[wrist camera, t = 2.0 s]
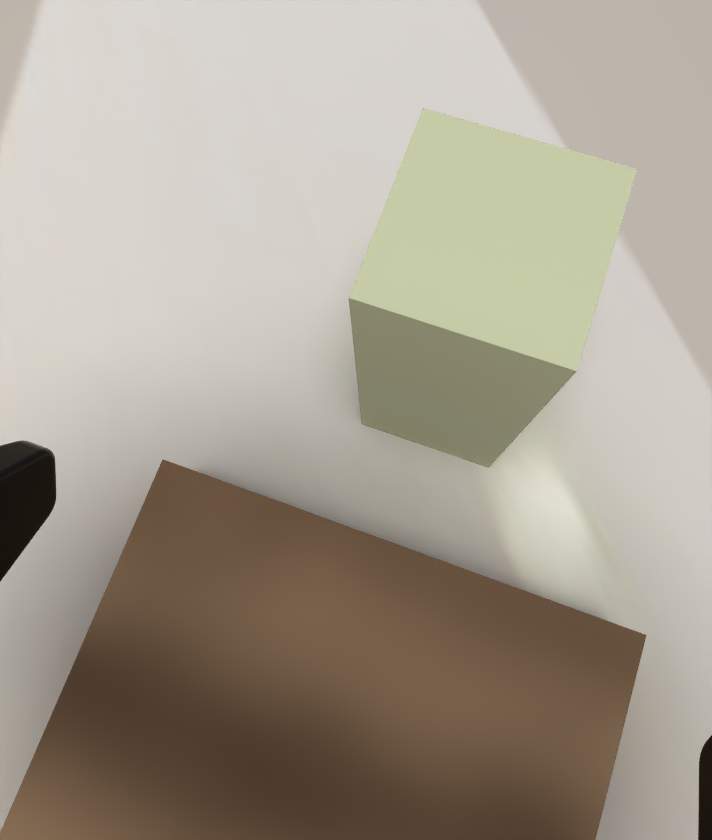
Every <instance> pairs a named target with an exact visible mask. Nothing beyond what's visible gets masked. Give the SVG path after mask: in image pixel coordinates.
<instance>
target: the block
mask: <svg viewBox="0 0 712 840" xmlns="http://www.w3.org/2000/svg"><path fill="white" fill-rule="evenodd" d="M636 171H637V169H635V168H632V167H628V166H625V165H621V164H617V163H614V162H611V161H607V160H604V159H600V158H597V157H593V156H589V155H586V154H582V153H579V152H575V151H572V150H568V149H565V148H561V147H558V146H554V145H551V144H547V143H544V142H540V141H537V140H533V139H530V138H526V137H522V136H519V135H515V134H512V133H508V132H505V131H501V130H498V129H494V128H491V127H487V126H484V125H480V124H477V123H473V122H470V121H466V120H463V119H459V118H456V117H452V116H448V115H445V114H441V113H438V112H434V111H431V110H427V109H424V108H423V110H422V112H421V115H420V117H419V120H418V123H417V125H416V128H415V130H414V133H413V135H412V138H411V140H410V143H409V146H408V148H407V151H406V153H405V156H404V158H403V161H402V163H401V166H400V168H399V171H398V174H397V176H396V179H395V181H394V184H393V186H392V189H391V191H390V194H389V197H388V199H387V202H386V204H385V207H384V209H383V212H382V214H381V217H380V219H379V222H378V225H377V227H376V230H375V232H374V235H373V237H372V240H371V242H370V245H369V248H368V250H367V253H366V255H365V258H364V260H363V263H362V265H361V268H360V270H359V273H358V276H357V278H356V281H355V283H354V286H353V288H352V291H351V293H350V296H349V305H350V314H351V324H352V334H353V343H354V353H355V362H356V372H357V381H358V391H359V401H360V410H361V420H362V424H364V425H367V426H370V427H373V428H375V429H378V430H381V431H384V432H387V433H390V434H393V435H396V436H399V437H402V438H404V439H407V440H410V441H413V442H416V443H419V444H422V445H425V446H428V447H431V448H434V449H436V450H439V451H442V452H445V453H448V454H451V455H454V456H457V457H460V458H463V459H466V460H468V461H471V462H474V463H477V464H480V465H483V466H486V467H489V466H490V465H491V464H492V463H493V462H494V461H495V460H496V459H497V458H498V457H499V455H500V454H501V453H502V452H503V451H504V450H505V449H506V448H507V447H508V446H509V445H510V443H511V442H512V441H513V440H514V439H515V438H516V437H517V436H518V435H519V434H520V433H521V431H522V430H523V429H524V428H525V427H526V426H527V425H528V424H529V423H530V422H531V421H532V419H533V418H534V417H535V416H536V415H537V414H538V413H539V412H540V411H541V410H542V409H543V407H544V406H545V405H546V404H547V403H548V402H549V401H550V400H551V399H552V398H553V397H554V395H555V394H556V393H557V392H558V391H559V390H560V389H561V388H562V387H563V386H564V385H565V383H566V382H567V381H568V380H569V379H570V378H571V377H572V376H573V375H574V374H575V372H576V371H577V368H578V365H579V362H580V358H581V355H582V352H583V348H584V345H585V342H586V338H587V335H588V332H589V328H590V325H591V322H592V318H593V315H594V312H595V308H596V305H597V302H598V298H599V295H600V291H601V288H602V285H603V281H604V278H605V275H606V271H607V268H608V265H609V261H610V258H611V255H612V251H613V248H614V245H615V241H616V238H617V235H618V231H619V228H620V224H621V221H622V217H623V214H624V211H625V208H626V204H627V201H628V198H629V194H630V191H631V188H632V184H633V181H634V178H635V174H636Z"/></svg>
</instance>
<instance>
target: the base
mask: <svg viewBox="0 0 712 840" xmlns="http://www.w3.org/2000/svg"><path fill="white" fill-rule="evenodd" d="M645 638H646V635H644V634H642V633H639V632H636V631H633V630H631V629H628V628H625V627H622V626H620V625H617V624H614V623H611V622H609V621H606V620H603V619H600V618H598V617H595V616H592V615H589V614H586V613H584V612H581V611H578V610H575V609H573V608H570V607H567V606H564V605H562V604H559V603H556V602H553V601H551V600H548V599H545V598H542V597H540V596H537V595H534V594H531V593H529V592H526V591H523V590H520V589H518V588H515V587H512V586H509V585H507V584H504V583H501V582H498V581H496V580H493V579H490V578H487V577H485V576H482V575H479V574H476V573H474V572H471V571H468V570H465V569H463V568H460V567H457V566H454V565H452V564H449V563H446V562H443V561H441V560H438V559H435V558H432V557H430V556H427V555H424V554H421V553H419V552H416V551H413V550H410V549H408V548H405V547H402V546H399V545H397V544H394V543H391V542H388V541H386V540H383V539H380V538H377V537H375V536H372V535H369V534H366V533H364V532H361V531H358V530H355V529H353V528H350V527H347V526H344V525H342V524H339V523H336V522H333V521H331V520H328V519H325V518H322V517H320V516H317V515H314V514H311V513H309V512H306V511H303V510H300V509H298V508H295V507H292V506H289V505H287V504H284V503H281V502H278V501H276V500H273V499H270V498H267V497H265V496H262V495H259V494H256V493H254V492H251V491H248V490H245V489H243V488H240V487H237V486H234V485H232V484H229V483H226V482H223V481H221V480H218V479H215V478H212V477H210V476H207V475H204V474H201V473H199V472H196V471H193V470H190V469H188V468H185V467H182V466H179V465H177V464H174V463H171V462H168V461H166V460H162V462H161V465H160V467H159V469H158V471H157V474H156V476H155V478H154V481H153V483H152V485H151V488H150V490H149V492H148V494H147V497H146V499H145V501H144V504H143V506H142V508H141V511H140V513H139V515H138V517H137V520H136V522H135V524H134V527H133V529H132V531H131V534H130V536H129V538H128V540H127V543H126V545H125V547H124V550H123V552H122V554H121V556H120V559H119V561H118V563H117V566H116V568H115V570H114V573H113V575H112V577H111V579H110V582H109V584H108V586H107V589H106V591H105V593H104V596H103V598H102V600H101V602H100V605H99V607H98V609H97V612H96V614H95V616H94V619H93V621H92V623H91V625H90V628H89V630H88V632H87V635H86V637H85V639H84V641H83V644H82V646H81V648H80V651H79V653H78V655H77V658H76V660H75V662H74V664H73V667H72V669H71V671H70V674H69V676H68V678H67V681H66V683H65V685H64V687H63V690H62V692H61V694H60V697H59V699H58V701H57V704H56V706H55V708H54V710H53V713H52V715H51V717H50V720H49V722H48V724H47V726H46V729H45V731H44V733H43V736H42V738H41V740H40V743H39V745H38V747H37V749H36V752H35V754H34V756H33V759H32V761H31V763H30V766H29V768H28V770H27V772H26V775H25V777H24V779H23V782H22V784H21V786H20V789H19V791H18V793H17V795H16V798H15V800H14V802H13V805H12V807H11V809H10V812H9V814H8V816H7V818H6V821H5V823H4V825H3V828H2V830H1V832H0V840H595V838H596V834H597V830H598V826H599V822H600V818H601V814H602V810H603V806H604V802H605V798H606V794H607V790H608V786H609V782H610V778H611V774H612V770H613V766H614V762H615V758H616V754H617V750H618V746H619V742H620V738H621V734H622V730H623V726H624V722H625V718H626V714H627V710H628V706H629V702H630V698H631V694H632V690H633V686H634V682H635V678H636V674H637V670H638V666H639V662H640V658H641V654H642V650H643V646H644V642H645Z"/></svg>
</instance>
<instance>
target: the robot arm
mask: <svg viewBox="0 0 712 840" xmlns="http://www.w3.org/2000/svg"><path fill="white" fill-rule="evenodd" d="M55 501H56V473H55V456H54V454H53V453H52V451H50V450H49V449H47V448H45V447H42V446H39V445H37V444H34V443H31V442H28V441H17V442H13V443H9V444H5V445H2V446H0V581H1V580H2V578H3V577H4V576H5V574H6V573H7V572H8V570H9V569H10V568H11V566H12V565H13V564H14V562H15V561H16V560H17V558H18V557H19V555H20V554H21V553H22V551H23V550H24V549H25V547H26V546H27V545H28V543H29V542H30V541H31V539H32V538H33V537H34V535H35V534H36V532H37V531H38V530H39V528H40V527H41V526H42V524H43V523H44V522H45V520H46V519H47V518H48V516H49V515H50V513H51V511H52V509H53V507H54V505H55ZM698 840H712V736H711V737H710V738H709V739H708V740H707V741H706V743H705V744H704V746H703V748H702V751H701V755H700V761H699V833H698Z"/></svg>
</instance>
